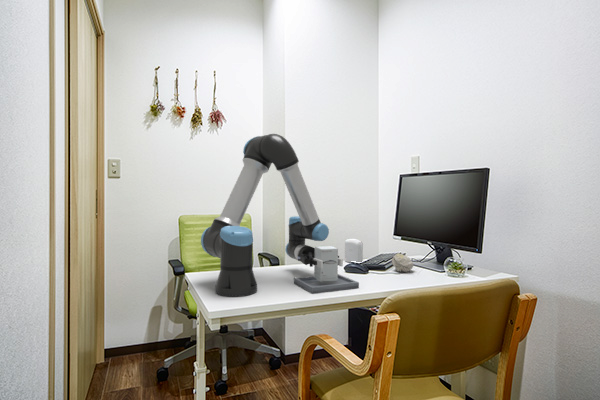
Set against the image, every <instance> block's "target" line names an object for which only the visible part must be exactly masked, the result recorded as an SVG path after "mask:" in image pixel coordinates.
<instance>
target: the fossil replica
mask: <svg viewBox="0 0 600 400" xmlns="http://www.w3.org/2000/svg"><path fill="white" fill-rule="evenodd" d="M391 265H392V266H393V267H395V268H394V269H395V270H396V271H397V272H401V273H402V272H404V273H407V272H410V271H411V270H413V267H414V265H415V264H414V262H413V261H412V260H411V258H410V257H408V256H406V255H404V254H402V253H399V252H398V253H396V254H395V255H393V257H392V259H391Z"/></svg>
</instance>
